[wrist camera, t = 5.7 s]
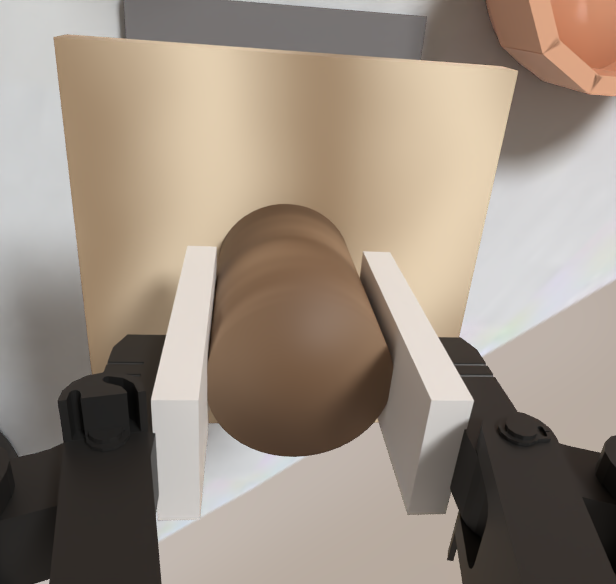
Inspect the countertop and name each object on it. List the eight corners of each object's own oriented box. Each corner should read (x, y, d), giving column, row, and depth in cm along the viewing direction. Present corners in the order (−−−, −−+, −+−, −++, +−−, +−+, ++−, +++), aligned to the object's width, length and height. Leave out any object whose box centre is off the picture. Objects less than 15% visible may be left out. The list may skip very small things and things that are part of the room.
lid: (105, 401, 21) (41, 583, 14) (67, 34, 15) (-64, 60, 9) (430, 401, 22) (506, 567, 16) (500, 66, 17) (660, 107, 10)
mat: (142, 270, 32) (140, 275, 32) (125, -9, 26) (122, -9, 26) (384, 277, 34) (387, 282, 34) (423, 16, 28) (427, 16, 27)
